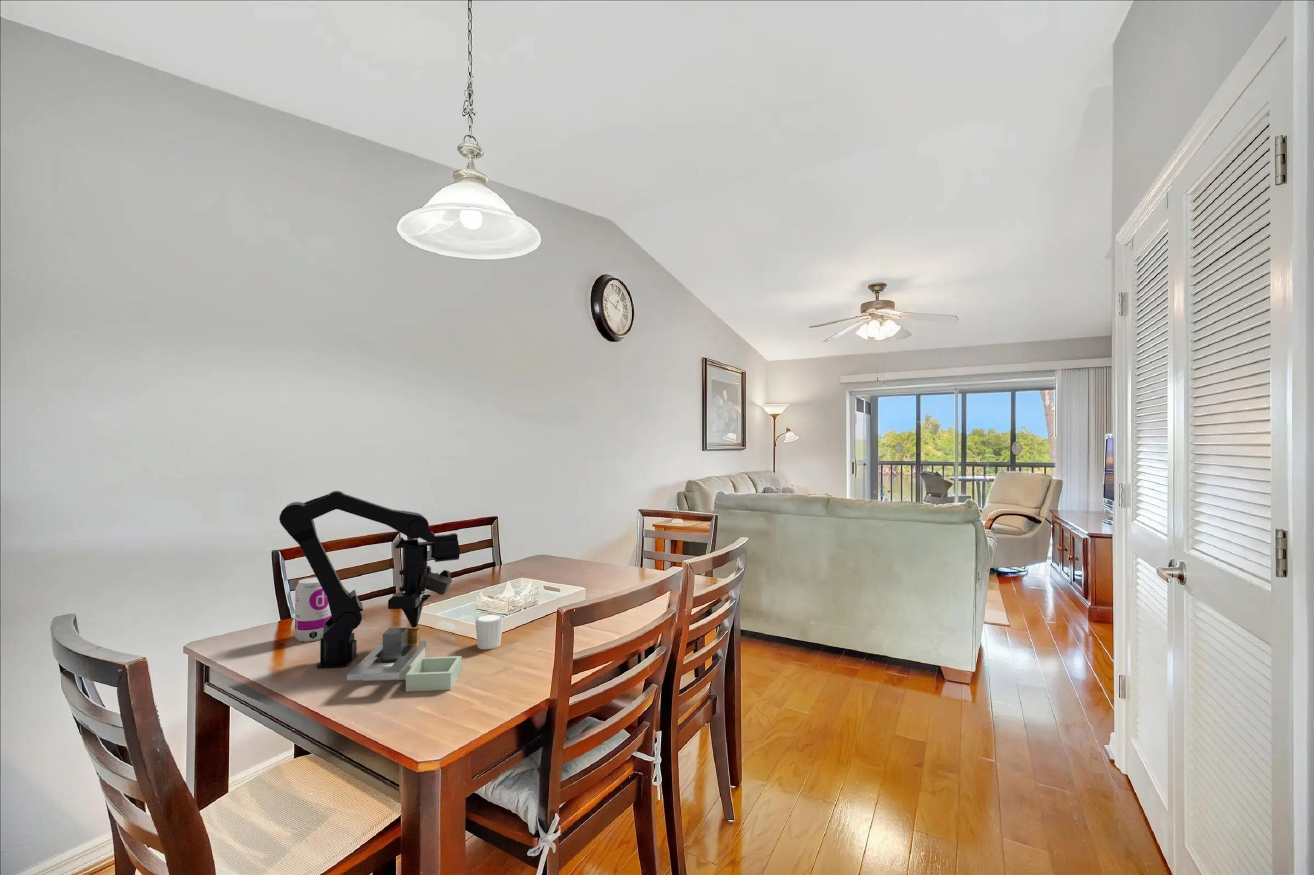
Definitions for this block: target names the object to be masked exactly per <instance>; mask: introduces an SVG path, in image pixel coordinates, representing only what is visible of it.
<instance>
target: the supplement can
mask: <svg viewBox="0 0 1314 875" xmlns="http://www.w3.org/2000/svg"><path fill="white" fill-rule="evenodd" d="M294 590H295V591H294V592H295V593H294V594H295V595H294V598H295V599H294V601H295V603H294V604H295V607H294V608H295V609H294V611H295V612H294V638H295V639H296V640H297V641H298V642H302V641H304V642H307V643H309V642H314V641H320V638H322V637H323V627H324V623H325V622H326V621H327V620H328V619H329V618H330V617H331V612H330V607H329V603H328V599H327V596H326V595H325V593H324V591H323V589H322V587H321V585H320V583H319V581H318V579H317V577H316V576H313V577H307V578H303V579H300V580H298V583H297V585H296V586H295V589H294ZM304 642H303V643H304Z"/></svg>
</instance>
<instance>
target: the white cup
mask: <svg viewBox="0 0 1314 875" xmlns="http://www.w3.org/2000/svg"><path fill="white" fill-rule="evenodd" d="M503 622H504V616H503V615H501V614H498V613H488V614H482V615H479V616H476V617H475V629H476V631H475V632H476V643H477V648H478V649H481V650H493V649H495V648H496V649H497V648H498V647H501V644H502V633H503V624H504V623H503Z"/></svg>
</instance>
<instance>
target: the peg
mask: <svg viewBox="0 0 1314 875" xmlns="http://www.w3.org/2000/svg"><path fill="white" fill-rule="evenodd" d="M408 629H409V628H408V627H389V628H388V629H387V630H386V631H384V633H382V642H383V648H382V663H395V662H396V661H397V660H398V659H399V658H400V657H401V656H405V655H406V654H407V644H408Z"/></svg>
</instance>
